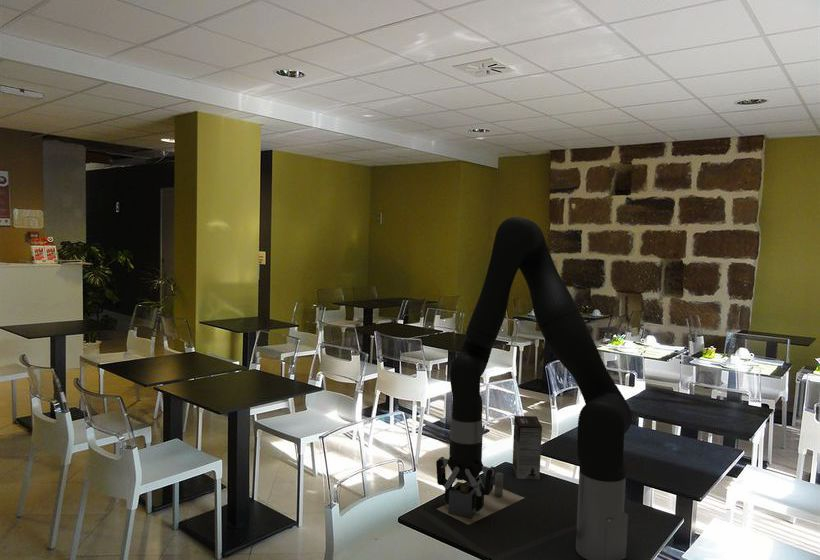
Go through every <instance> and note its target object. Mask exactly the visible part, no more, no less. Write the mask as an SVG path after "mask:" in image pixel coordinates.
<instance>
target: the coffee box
mask: <svg viewBox="0 0 820 560" xmlns="http://www.w3.org/2000/svg"><path fill="white" fill-rule="evenodd" d="M513 421H514V422H513V443H512V445H513V446H512V469H513V471H514V474H515V477H516V479H518V480H519V479H521V480H541V479H540V477H541V458H542V456H541V455H542V437H543V435H542V433H543V426H542V423H540V421H539V419H538V417H537V416H536V415H514V417H513Z"/></svg>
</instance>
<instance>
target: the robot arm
mask: <svg viewBox="0 0 820 560" xmlns="http://www.w3.org/2000/svg"><path fill="white" fill-rule="evenodd" d="M546 241H547V240H546V238H545V235H544V232H543V231H542V229H541V227H540V226H539V225H538V224H537V223H536V222H534V221H533V220H531V219H527V218H524V217H521V216H512V217H509V218H507V219H505V220H503V221H502V222H501V223H500V225H499V226H498V227H497V230H496V233H495V237H494V241H493V246H492V250H491V256H490V260H489V264H488V268H487V271H486V274H485V278H484V282H483V285H482V288H481V292H480V294H479V297H478V300H477V302H476V305H475V307H474V309H473V312H472V314H471V317H470V320H469V322H468V325H467V328H466V330H465V331H466V332H465V336H466V337H465V339H464V342H463V345H462V347H461V349H460V351H459V354H458V355H457V356H456V357H455V358H454V359H453V361H452V362H451V364H450V372H449V373H450V374H449V376H450V377H449V380H450V388H451V396H452V402H451V421H450V427H449V454H448V455H449V458H445V457H444V456H440V457H439V458H438V459H437V460H436V462H435V463H436V464H435V465H436V481H437V485H438V486H442V487H444V501H445V502H446V505H447V504H448V505H449V490H450V489H451V488H452V487H453V485H454V483H455V481H456V480H458V481H464V482H465V483H470V484H471V485H472V487H473V488H474V489H475V491H476V494H477V495H476V511H480V509H482V508H483V506H484V495H489V494H490V493H491V491H492V490H493V485H494V483H495V473H496V469H495V467H494V466H490V467H488V466H484V464H483V461H482V459H483V432H484V431H483V428H484V426H483V397H482V396H481V377H482V376H483V374H484V373H485V371H486V368H487V366H488V363H489V360H490V356H491V354H492V353H491V352H492V350H493V347H494V344H495V343H496V341H497V338H498V336H499V333H500V330H501V328H502V326H503V323H504V320H505V318H506V314H507V310H508V305H509V299H510V295H511V288H512V286H513V282H514V279H515V277H516V275H517V273H518V270H519V271H520V272H521V274H522V276H523V278H524V280H525V282H526V284H527V287H528V291H529V296H530V301H531V305H532V309H533V314H534V318H535V321H536V323H537V325H538V328H539V330H540V332H541V334H542V336H543V338H544V340H545V343H546V345H547V346H548V349H550V351H551V352H552V354H553V355H554V356H555V357H556V359H558V361H559V362H560V363H561V364H562V366H563V367H564V368H566V370H567V371H568V373H569V374H570V375H571V376H572V377H573V379H574V381H575V384H576V385H577V387H578V389H579V392H580V393H581V396H582V398H583V401H584V405H583V406H582V408H581V409H580V412H579V415H578V420H577V441H576V442H577V445H576V446H577V448H576V449H577V451H576V452H577V459H578V461H579V462H578V463H579V469H578V470H579V471H578V472H579V473H578V491H577V492H578V493H577V509H576V510H577V513H576V533H575V534H576V537H575V550H576V553H577V554H578V555H579V556H580V557H581V558H583V559H586V560H624V559H626V558H627V546H628V543H627V540H628V527H629V526H628V525H629V514H628V513H627V512H625V497H626V496H625V495H626V478H627V477H626V476H627V464H626V461H625V460H624V449H625V445H624V444H625V434H626V433H628V431H629V429H630V427H631V424H632V422H633V416H632V410H631V407H630V405H629V404H628V401H627V400H626V399H625V397H624V395H623V394H622V392H621V390H620V389H619V387H618V386H617V383H616V382H615V381H614V379H613V377H612V376H611V375H610V373H609V371H608V369H607V368H606V365H605V364H604V362H603V359H602V357H601V354H600V351H599V349H598V347H597V345H596V343H595V341H594V339H593V338H592V335H591V332H590V331H589V328H588V326H587V323H586V322H585V319H584V317H583V315H582V313H581V311H580V309H579V307H578V306H577V304H576V302H575V300H574V298H573V297H572V294H571V292H570V291H569V289H568V287H567V285H566V284H565V282H564V280H563V279H562V277H561V275H560V274H559V271H558V270H557V268H556V265H555V262H554V260H553V258H552V255H551V252H550V249H549V247H548V244H547V242H546ZM447 466H448V468H449V470H450V471H451V474H450V475H449V476H448V478H447V475H446V474H447V473H446V468H447ZM480 473H483V476H484V478H485V482H484V483H485V484H484V485H483V480H482V478H481V476H480Z"/></svg>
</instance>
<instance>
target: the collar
mask: <svg viewBox="0 0 820 560" xmlns="http://www.w3.org/2000/svg"><path fill="white" fill-rule="evenodd" d="M461 483H462V482H460V481H457V482H456V483H455V484H453V485H452V488H451V489H450V490H449V511H448V514H452V515H456V516H461V517H465V518H469V519H472V518H473V516H474V515H475V514H476V513H477V511H476V495H477V494H476V491H475V489H474V488H473V487H472V485H471V483H470V484H469V483H468V484H469V493H467V492H462V491H460V484H461Z"/></svg>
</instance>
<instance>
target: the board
mask: <svg viewBox="0 0 820 560" xmlns="http://www.w3.org/2000/svg"><path fill="white" fill-rule="evenodd" d="M460 491H462V492H467V493H469V482H461V484H460ZM523 499H525V497H524V496H521V495H520V494H519V495H518V494H517V493H514V492H511V491H510V490H506V489H504V473H503V472H495V474H494V484H493V490H492V491H491V493H490V494H489V495H484V506H483V508H482V509H480V511H477V513H476V514H475V515H474V516H473V518H472V519H469V518H465V517H461V516H456V515H452V514H448V511H449V505H448V504H447V503H446V504H445V505H442V506H440V507H438V508H436V510H438V511H439V512H441V513H443V514H445V515H448V516H449V517H452V518H454V519H455V520H457V521H460V522H461V523H464V524H466V525H472V524H474V523H475V522H477V521H479V520H482V519H484V518H486V517H488V516H490V515H492V514H494V513H496V512H499V511H500V510H503V509H504V508H507V507H509V506H512V505H513V504H516V503H517V502H519V501H522V500H523Z"/></svg>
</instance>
